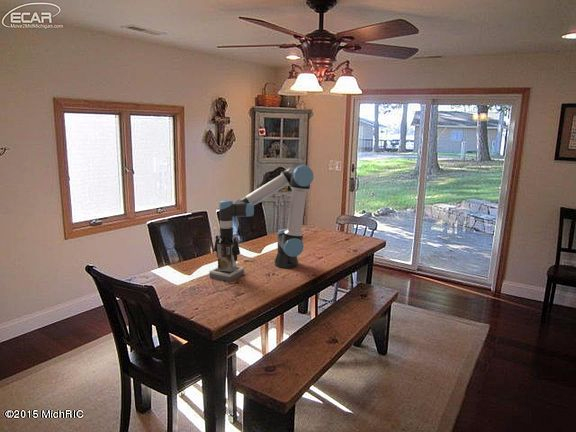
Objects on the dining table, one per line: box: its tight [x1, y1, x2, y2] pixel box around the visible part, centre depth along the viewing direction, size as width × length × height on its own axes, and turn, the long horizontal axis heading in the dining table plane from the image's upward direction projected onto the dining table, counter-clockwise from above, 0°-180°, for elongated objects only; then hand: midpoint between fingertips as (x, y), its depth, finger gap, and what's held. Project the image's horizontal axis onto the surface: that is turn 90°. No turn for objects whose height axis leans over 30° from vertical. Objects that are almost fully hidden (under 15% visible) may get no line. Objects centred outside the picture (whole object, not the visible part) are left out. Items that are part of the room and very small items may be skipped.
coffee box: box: [217, 241, 237, 272], centre depth 241 cm, size 9×6×16 cm
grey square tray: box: [209, 265, 245, 282], centre depth 242 cm, size 14×15×4 cm
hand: (227, 264), depth 242 cm, fingers closed on coffee box, 9 cm apart
